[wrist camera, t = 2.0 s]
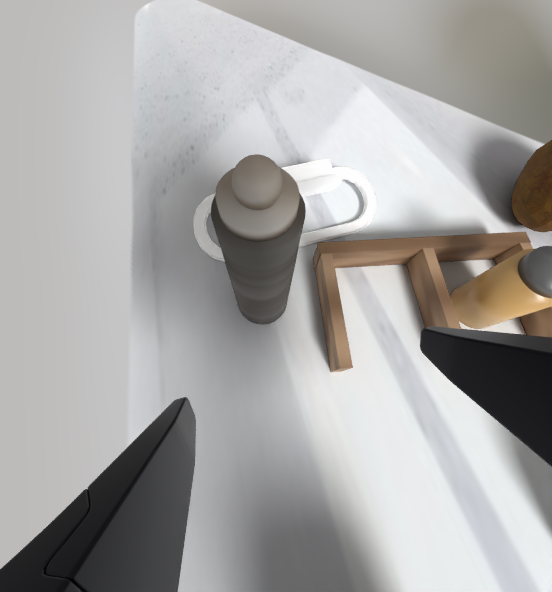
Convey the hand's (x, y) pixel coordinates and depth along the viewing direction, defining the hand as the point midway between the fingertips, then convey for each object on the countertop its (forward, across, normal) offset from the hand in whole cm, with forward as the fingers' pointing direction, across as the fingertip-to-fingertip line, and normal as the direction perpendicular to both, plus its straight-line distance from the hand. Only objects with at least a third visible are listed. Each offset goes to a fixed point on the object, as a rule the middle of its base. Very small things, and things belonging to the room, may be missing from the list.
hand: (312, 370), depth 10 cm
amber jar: (+11, +20, -8) cm, 24 cm away
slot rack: (+12, +15, -7) cm, 20 cm away
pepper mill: (+15, 0, -4) cm, 16 cm away
